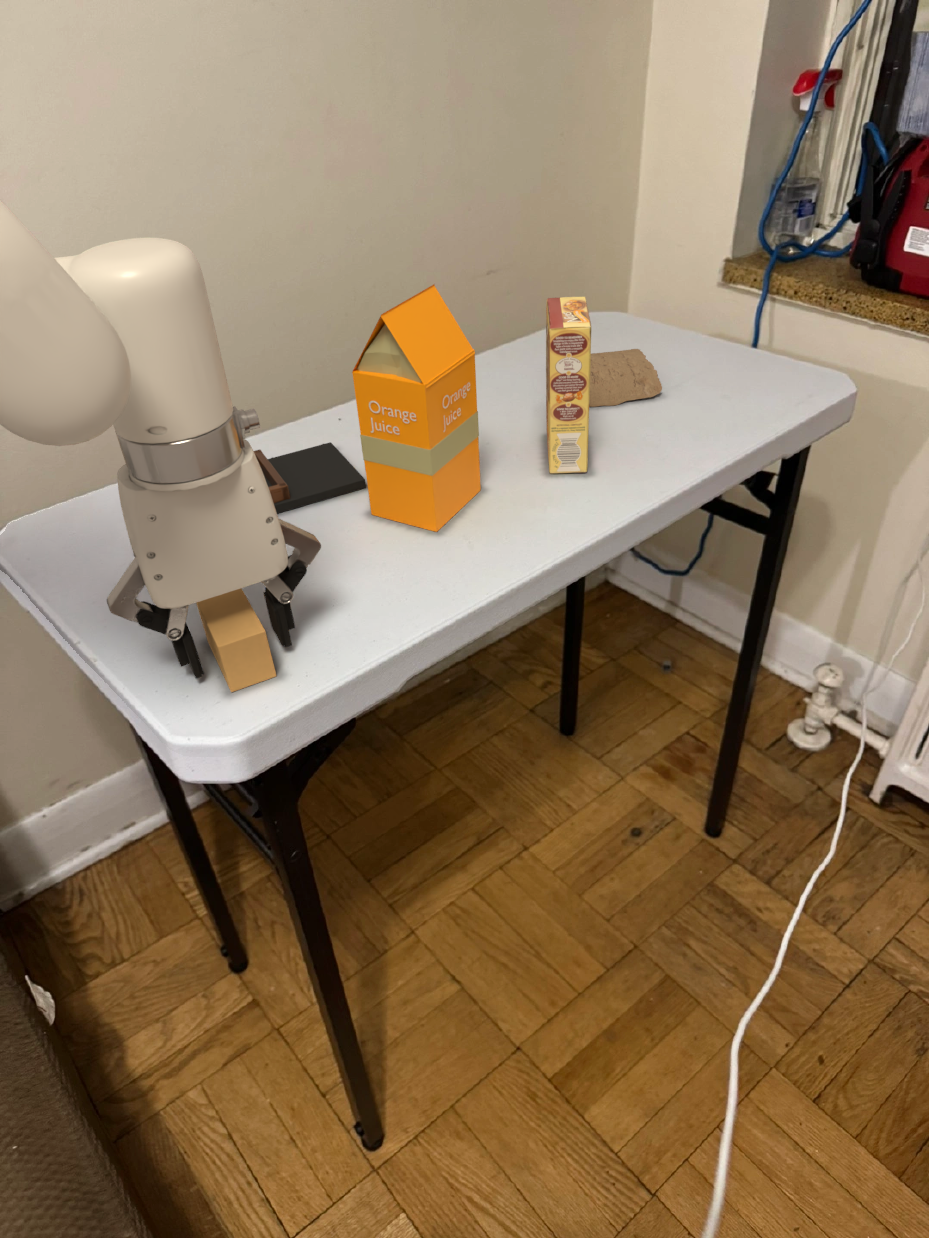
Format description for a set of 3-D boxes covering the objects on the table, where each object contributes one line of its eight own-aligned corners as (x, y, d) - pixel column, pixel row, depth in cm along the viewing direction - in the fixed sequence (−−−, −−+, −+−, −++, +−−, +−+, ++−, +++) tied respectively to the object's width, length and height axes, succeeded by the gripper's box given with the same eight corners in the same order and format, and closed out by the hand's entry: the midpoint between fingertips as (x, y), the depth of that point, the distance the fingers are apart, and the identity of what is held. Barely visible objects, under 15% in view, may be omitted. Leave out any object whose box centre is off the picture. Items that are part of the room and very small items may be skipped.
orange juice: (482, 490, 87) (473, 288, 75) (437, 532, 82) (420, 321, 69) (416, 474, 91) (398, 278, 78) (369, 514, 85) (341, 309, 72)
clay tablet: (665, 397, 103) (667, 375, 101) (582, 407, 101) (583, 385, 100) (625, 353, 114) (626, 333, 112) (551, 362, 113) (551, 342, 111)
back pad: (172, 544, 82) (165, 522, 81) (150, 499, 89) (144, 477, 88) (366, 487, 89) (363, 466, 87) (332, 450, 96) (328, 429, 95)
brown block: (231, 692, 65) (217, 647, 62) (207, 642, 70) (194, 597, 67) (276, 676, 66) (265, 631, 64) (250, 627, 71) (239, 583, 69)
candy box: (588, 474, 89) (594, 326, 79) (547, 475, 89) (548, 327, 80) (582, 435, 96) (587, 294, 86) (544, 436, 96) (545, 296, 87)
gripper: (289, 394, 62) (326, 593, 74) (37, 455, 57) (118, 662, 68) (325, 433, 57) (359, 641, 68) (51, 505, 51) (137, 721, 62)
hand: (239, 650), depth 68 cm, fingers open, 6 cm apart
